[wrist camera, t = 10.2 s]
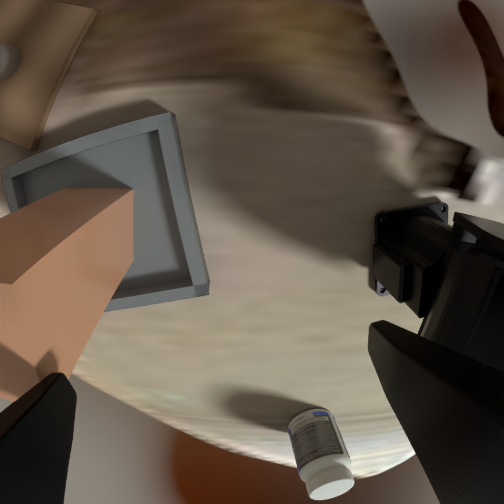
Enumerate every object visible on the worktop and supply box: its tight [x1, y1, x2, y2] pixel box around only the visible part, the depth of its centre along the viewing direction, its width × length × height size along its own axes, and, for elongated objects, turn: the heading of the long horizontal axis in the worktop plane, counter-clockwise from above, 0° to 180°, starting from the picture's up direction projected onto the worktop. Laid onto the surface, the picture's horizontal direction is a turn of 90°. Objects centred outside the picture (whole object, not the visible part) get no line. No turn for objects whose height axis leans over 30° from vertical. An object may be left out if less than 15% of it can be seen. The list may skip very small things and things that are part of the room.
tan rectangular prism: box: [0, 187, 134, 401], centre depth 12 cm, size 6×5×13 cm
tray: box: [1, 112, 210, 312], centre depth 18 cm, size 12×11×2 cm
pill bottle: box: [288, 409, 354, 500], centre depth 24 cm, size 5×5×8 cm
